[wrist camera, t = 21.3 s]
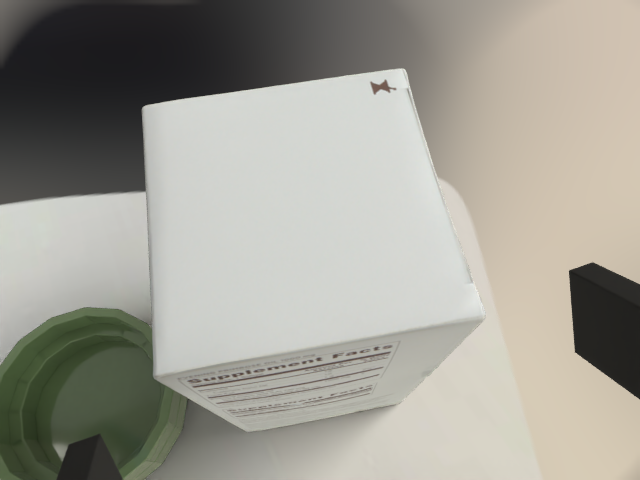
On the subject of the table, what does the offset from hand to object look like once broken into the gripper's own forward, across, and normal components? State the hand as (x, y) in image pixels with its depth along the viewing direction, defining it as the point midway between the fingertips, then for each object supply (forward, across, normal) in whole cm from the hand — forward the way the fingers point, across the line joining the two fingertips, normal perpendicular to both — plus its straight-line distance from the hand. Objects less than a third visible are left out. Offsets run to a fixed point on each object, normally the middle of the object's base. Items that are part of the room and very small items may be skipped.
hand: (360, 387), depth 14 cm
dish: (+15, -12, -7) cm, 21 cm away
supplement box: (+15, 0, -7) cm, 17 cm away
